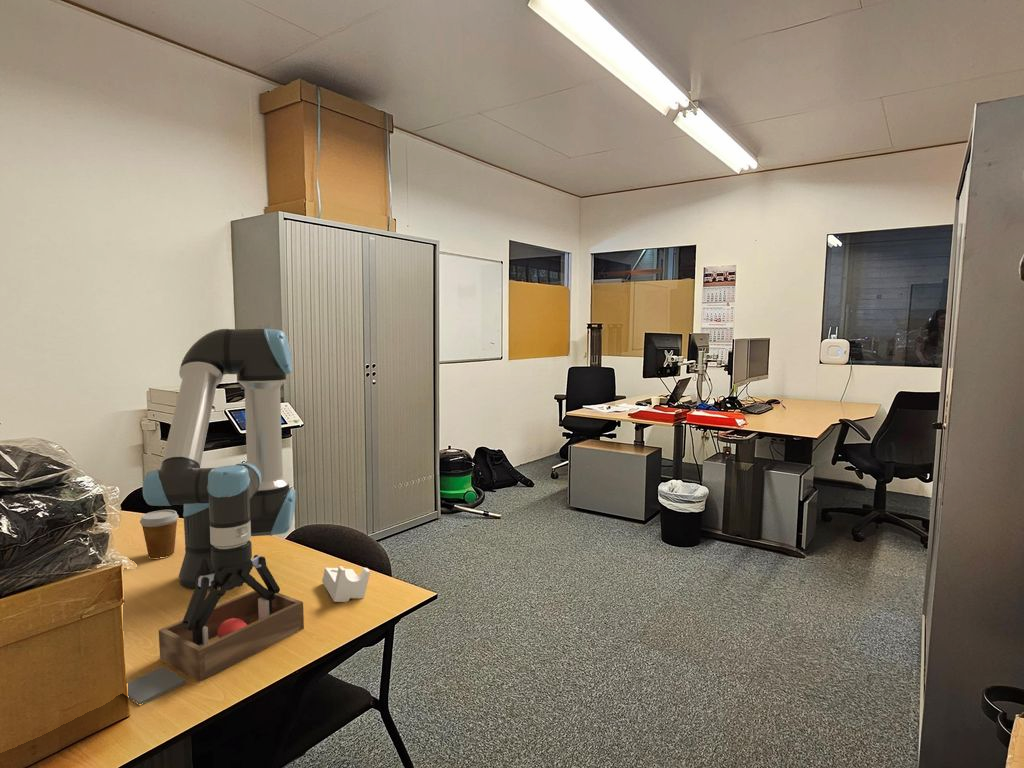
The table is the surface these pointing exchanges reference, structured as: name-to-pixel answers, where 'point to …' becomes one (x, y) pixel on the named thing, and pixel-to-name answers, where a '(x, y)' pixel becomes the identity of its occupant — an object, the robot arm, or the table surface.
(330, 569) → the bracket
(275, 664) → the table surface
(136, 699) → the slate mat
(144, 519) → the disposable coffee cup
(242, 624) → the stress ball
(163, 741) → the table surface
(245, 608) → the walnut box
